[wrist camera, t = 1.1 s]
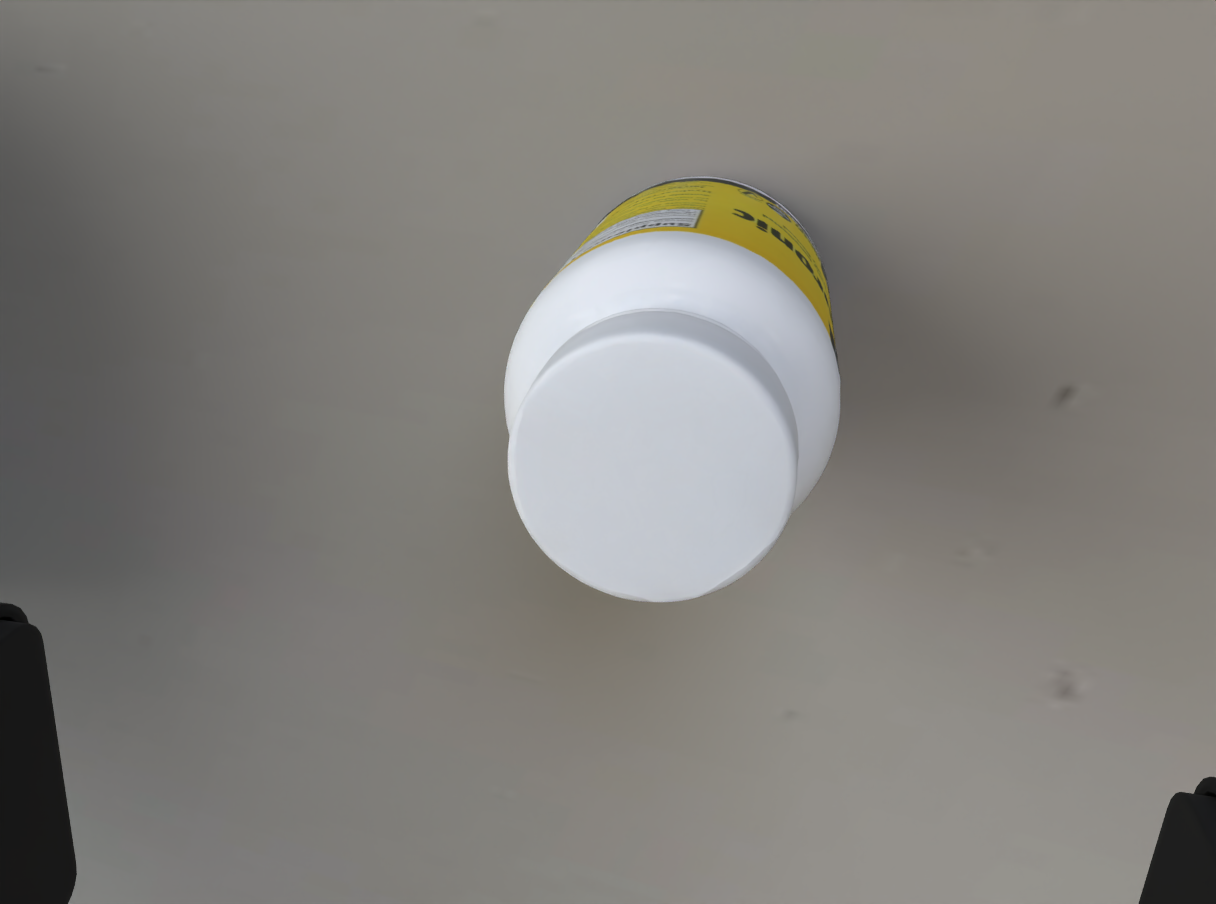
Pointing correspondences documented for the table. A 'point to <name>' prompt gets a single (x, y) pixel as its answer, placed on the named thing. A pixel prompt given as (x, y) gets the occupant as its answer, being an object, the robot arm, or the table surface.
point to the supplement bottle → (674, 392)
